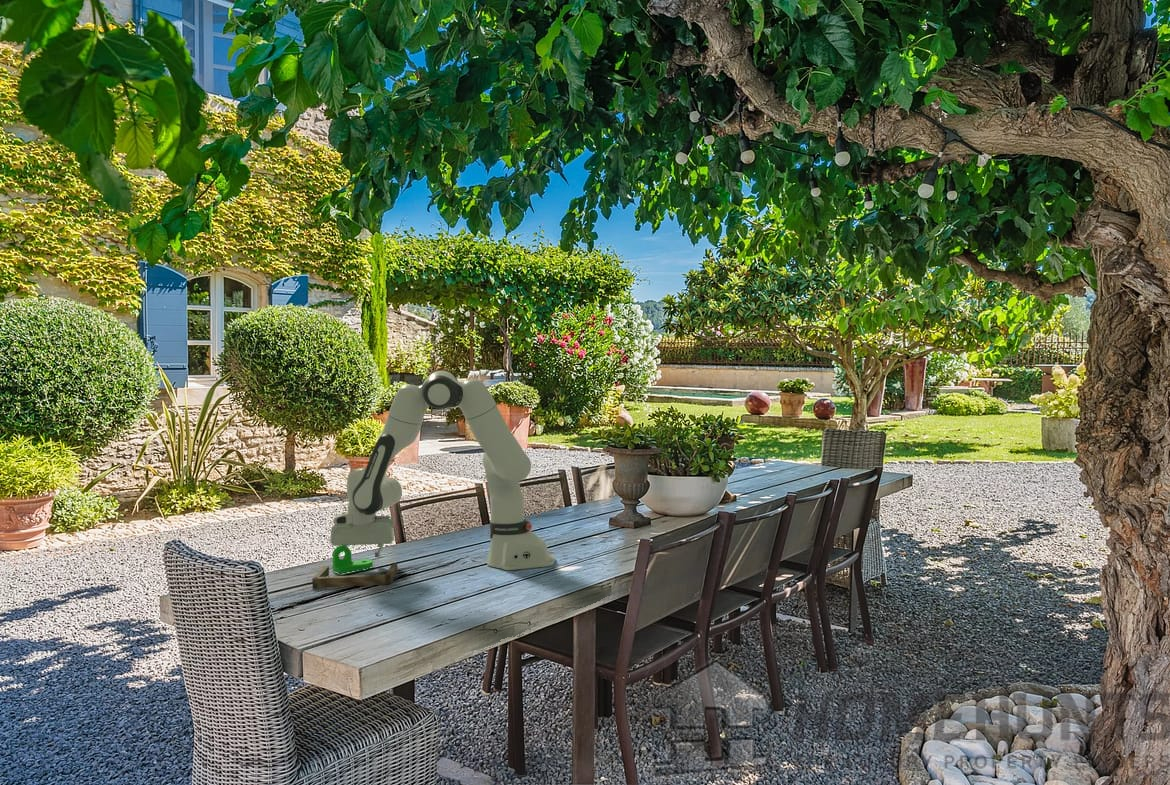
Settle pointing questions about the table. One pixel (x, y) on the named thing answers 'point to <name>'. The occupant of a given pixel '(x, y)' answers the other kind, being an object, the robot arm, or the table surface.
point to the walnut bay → (352, 579)
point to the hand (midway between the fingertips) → (363, 557)
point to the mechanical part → (348, 561)
